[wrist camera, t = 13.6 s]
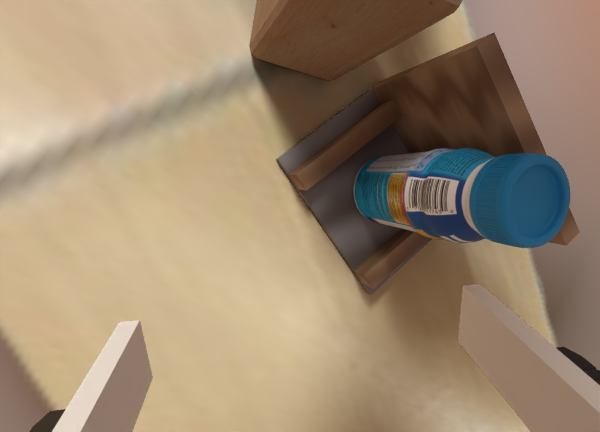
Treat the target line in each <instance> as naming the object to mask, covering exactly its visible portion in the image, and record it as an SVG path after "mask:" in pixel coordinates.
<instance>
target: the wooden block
mask: <svg viewBox="0 0 600 432" xmlns="http://www.w3.org/2000/svg"><path fill="white" fill-rule="evenodd" d="M461 2H462V0H257V3H256V9H255V15H254V21H253V27H252V33H251V39H250V51H251V55H253V56H254V57H256V58H257V59H260V60H263V61H267V62H270V63H273V64H276V65H280V66H283V67H286V68H290V69H293V70H296V71H299V72H303V73H306V74H309V75H312V76H316V77H319V78H322V79H326V80H334V79H336V78H338V77H340V76H341V75H343V74H345V73H347V72H349V71H350V70H352V69H354V68H356V67H358V66H359V65H361V64H363V63H365V62H366V61H368V60H370V59H372V58H374V57H375V56H377V55H379V54H381V53H383V52H384V51H386V50H388V49H390V48H392V47H393V46H395V45H397V44H399V43H400V42H402V41H404V40H406V39H408V38H409V37H411V36H413V35H415V34H417V33H418V32H420V31H422V30H424V29H425V28H427V27H429V26H431V25H433V24H434V23H436V22H438V21H440V20H442V19H443V18H445V17H447V16H449V15H450V14H452V13H454V12H455V11H456V10H457V8H458V7H459V6H460V4H461Z"/></svg>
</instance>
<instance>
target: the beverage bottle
mask: <svg viewBox="0 0 600 432" xmlns="http://www.w3.org/2000/svg"><path fill="white" fill-rule="evenodd" d="M353 193H354V200H355V203H356V206H357V208H358V210H359V211H360V213H361V214H362V215H363V216H364V217H365V218H366V219H368V220H369V221H371V222H373V223H377V224H381V225H389V226H394V227H398V228H402V229H406V230H410V231H414V232H418V233H419V234H421V235H423V236H425V237H428V238H432V239H441V240H444V239H446V240H448V241H451V242H455V243H469V242H475V241H479V240H482V239H485V238H486V239H488V240H490V241H493V242H497V243H501V244H505V245H510V246H515V247H521V248H534V247H539V246H542V245H544V244H546V243H547V242H549V241H550V240H551V239H552V238H554V236H555V235H556V234H557V233H558V232H559V230H560V229H561V227H562V226H563V224H564V222H565V219H566V217H567V213H568V210H569V204H570V187H569V182H568V178H567V175H566V173H565V171H564V169H563V168H562V166H561V165H560V164H559V163H558V162H557V161H556V160H555V159H553V158H552V157H550V156H547V155H544V154H538V153H521V154H508V155H501V156H497V157H494V156H493V155H491V154H489V153H487V152H484V151H481V150H478V149H473V148H460V149H456V150H455V149H446V148H444V149H435V150H431V151H428V152H419V153H409V154H398V155H381V156H377V157H374V158H372V159H370V160H369V161H367V162H366V163H365V164H364V165H363V166H362V167H361V169H360V170H359V172H358V174H357V176H356V179H355V182H354V189H353Z"/></svg>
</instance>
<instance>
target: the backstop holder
mask: <svg viewBox="0 0 600 432" xmlns="http://www.w3.org/2000/svg"><path fill="white" fill-rule="evenodd" d="M444 148H446V149H455V150H456V149H460V148H473V149H478V150H481V151H484V152H487V153H489V154H491V155H493V156H494V157H497V156H501V155H508V154H521V153H538V154H544V155H546V152H545V150H544V148H543V145H542V143H541V141H540V138H539V136H538V134H537V131H536V129H535V127H534V124H533V122H532V120H531V117H530V115H529V113H528V110H527V108H526V106H525V103H524V101H523V99H522V96H521V94H520V92H519V89H518V87H517V85H516V82H515V80H514V78H513V75H512V73H511V71H510V68H509V66H508V64H507V61H506V59H505V57H504V54H503V52H502V50H501V48H500V45H499V43H498V40H497V38H496V36H495V34H494V33H492V34H490V35H487V36H485V37H483V38H480V39H478V40H476V41H473V42H471V43H469V44H466V45H464V46H462V47H459V48H457V49H455V50H452V51H450V52H448V53H445V54H443V55H441V56H438V57H436V58H434V59H432V60H429V61H427V62H425V63H422V64H420V65H418V66H415V67H413V68H411V69H408V70H406V71H404V72H401V73H399V74H397V75H394V76H392V77H390V78H387V79H385V80H383V81H381V82H380V83H378V84H377V85H375V86H374V87H373V88H371V89H370V90H369V91H367V92H366V93H365V94H363V95H362V96H361V97H359V98H358V99H357V100H355V101H354V102H353V103H351V104H350V105H349V106H347V107H346V108H345V109H343V110H342V111H341V112H339V113H338V114H337V115H335V116H334V117H333V118H331V119H330V120H329V121H327V122H326V123H325V124H323V125H322V126H321V127H319V128H318V129H316V130H315V131H314V132H312V133H311V134H310V135H308V136H307V137H306V138H304V139H303V140H302V141H300V142H299V143H298V144H296V145H295V146H294V147H292V148H291V149H290V150H288V151H287V152H286V153H284V154H283V155H282V156H280V157H279V158H278V159H276V160H277V162H278V163H279V165H280V166H281V168H282V169H283V171H284V172H285V173H286V175H287V176H288V178H289V179H290V181H291V182H292V184H293V185H294V187H295V188H296V189H297V191H298V192H299V194H300V195H301V197H302V198H303V200H304V201H305V203H306V204H307V206H308V207H309V208H310V210H311V211H312V213H313V214H314V216H315V217H316V219H317V220H318V222H319V223H320V224H321V226H322V227H323V229H324V230H325V232H326V233H327V235H328V236H329V238H330V239H331V241H332V242H333V243H334V245H335V246H336V248H337V249H338V251H339V252H340V254H341V255H342V257H343V258H344V259H345V261H346V262H347V264H348V265H349V267H350V268H351V270H352V271H353V273H354V274H355V275H356V277H357V278H358V280H359V281H360V283H361V284H362V286H363V287H364V289H365V290H366V292H367V293H369V294H370V295H371V294H372V293H373V292H374V291H375V290H376V289H377V288H378V287H379V286H380V285H382V284H383V283H384V282H385V281H386V280H387V279H388V278H389V277H390V276H392V275H393V274H394V273H395V272H396V271H397V270H398V269H399V268H400V267H402V266H403V265H404V264H405V263H406V262H407V261H408V260H409V259H410V258H411V257H413V256H414V255H415V254H416V253H417V252H418V251H419V250H420V249H421V248H423V247H424V246H425V245H426V244H427V243H428V242H429V241H430V240H431V239H432V238H428V237H425V236H423V235H421V234H419V233H418V232H414V231H410V230H406V229H402V228H398V227H394V226H389V225H381V224H377V223H373V222H371V221H369V220H368V219H366V218H365V217H364V216H363V215H362V214H361V213H360V211H359V210H358V208H357V206H356V203H355V200H354V193H353V189H354V182H355V179H356V176H357V174H358V172H359V170H360V169H361V167H362V166H363V165H364V164H365V163H366V162H367V161H369V160H370V159H372V158H374V157H377V156H381V155H398V154H409V153H419V152H428V151H431V150H435V149H444ZM578 233H579V229H578V227H577V225H576V223H575V220H574V218H573V215H572V213H571V211H570V209H569V210H568V213H567V217H566V219H565V222H564V224H563V226H562V227H561V229H560V230H559V232H558V233H557V234H556V235H555V236H554V238H552V239H551V240H550V241H549V242H550V243H556V244H561V245H567V244H568V243H569V242H570V241H571V240H572V239H573V238H574V237H575V236H576V235H577V234H578Z"/></svg>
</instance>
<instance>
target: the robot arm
mask: <svg viewBox="0 0 600 432" xmlns="http://www.w3.org/2000/svg"><path fill="white" fill-rule="evenodd" d="M458 342H459V343H460V344H461V346H462V347H463V348H464V349H465V351H466V352H467V353H468V354H469V356H470V357H471V358H472V359H473V361H474V362H475V363H476V364H477V366H478V367H479V368H480V369H481V370H482V372H483V373H484V374H485V375H486V377H487V378H488V379H489V380H490V382H491V383H492V384H493V385H494V387H495V388H496V389H497V390H498V392H499V393H500V394H501V395H502V396H503V398H504V399H505V400H506V401H507V403H508V404H509V405H510V406H511V408H512V409H513V410H514V411H515V413H516V414H517V415H518V416H519V417H520V419H521V420H522V421H523V422H524V424H525V425H526V426H527V427H528V429H529V430H530V431H531V432H600V371H599V370H596V368H595V367H594V366H593V365H592V364H591V363H590V362H588V361H587V360H586V359H585V358H583V357H582V356H580V355H579V354H576V353H575V352H572V351H571V350H569V349H567V348H565V347H558V348H555V347H554V346H553V345H552V344H551V343H549V342H548V341H547V340H546V339H545V338H544V337H542V336H541V335H540V334H539V333H538V332H536V331H535V330H534V329H533V328H532V327H531V326H529V325H528V324H527V323H526V322H525V321H524V320H522V319H521V318H520V317H519V316H518V315H516V314H515V313H514V312H513V311H512V310H511V309H509V308H508V307H507V306H506V305H505V304H504V303H502V302H501V301H500V300H499V299H498V298H497V297H495V296H494V295H493V294H492V293H491V292H489V291H488V290H487V289H486V288H485V287H484V286H482V285H481V284H474V285H464V286H463V290H462V301H461V312H460V323H459V333H458ZM152 378H153V376H152V372H151V368H150V363H149V359H148V354H147V350H146V345H145V341H144V336H143V332H142V328H141V323H140V320H135V321H126V322H119V324H118V325H117V327H116V329H115V330H114V332H113V333H112V335H111V337H110V338H109V340H108V342H107V343H106V345H105V346H104V348H103V350H102V351H101V353H100V354H99V356H98V358H97V359H96V361H95V363H94V364H93V366H92V367H91V369H90V371H89V372H88V374H87V376H86V377H85V379H84V380H83V382H82V384H81V385H80V387H79V389H78V390H77V392H76V393H75V395H74V397H73V398H72V400H71V402H70V403H69V405H68V406H67V408H66V409H64V410H56V411H50V412H49V413H48V414H46V415H45V416H44V417H43V418H42V419H41V420H40V421H39V422H38V423H36V424H35V425H34V426H33V428H32V429H31V430H30V432H132V431H133V428H134V426H135V423H136V420H137V418H138V415H139V412H140V410H141V407H142V404H143V402H144V399H145V397H146V394H147V391H148V389H149V386H150V383H151V381H152Z"/></svg>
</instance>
